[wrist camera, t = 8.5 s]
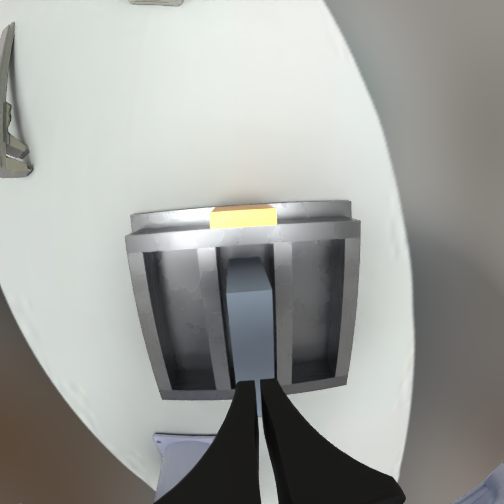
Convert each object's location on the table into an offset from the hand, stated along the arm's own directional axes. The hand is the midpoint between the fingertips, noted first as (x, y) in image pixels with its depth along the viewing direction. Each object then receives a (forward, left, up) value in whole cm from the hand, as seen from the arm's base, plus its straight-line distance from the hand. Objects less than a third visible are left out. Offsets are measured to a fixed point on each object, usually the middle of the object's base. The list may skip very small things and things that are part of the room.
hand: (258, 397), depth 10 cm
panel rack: (0, 0, -9) cm, 9 cm away
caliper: (+21, +21, -10) cm, 31 cm away
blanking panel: (0, 0, -9) cm, 9 cm away
